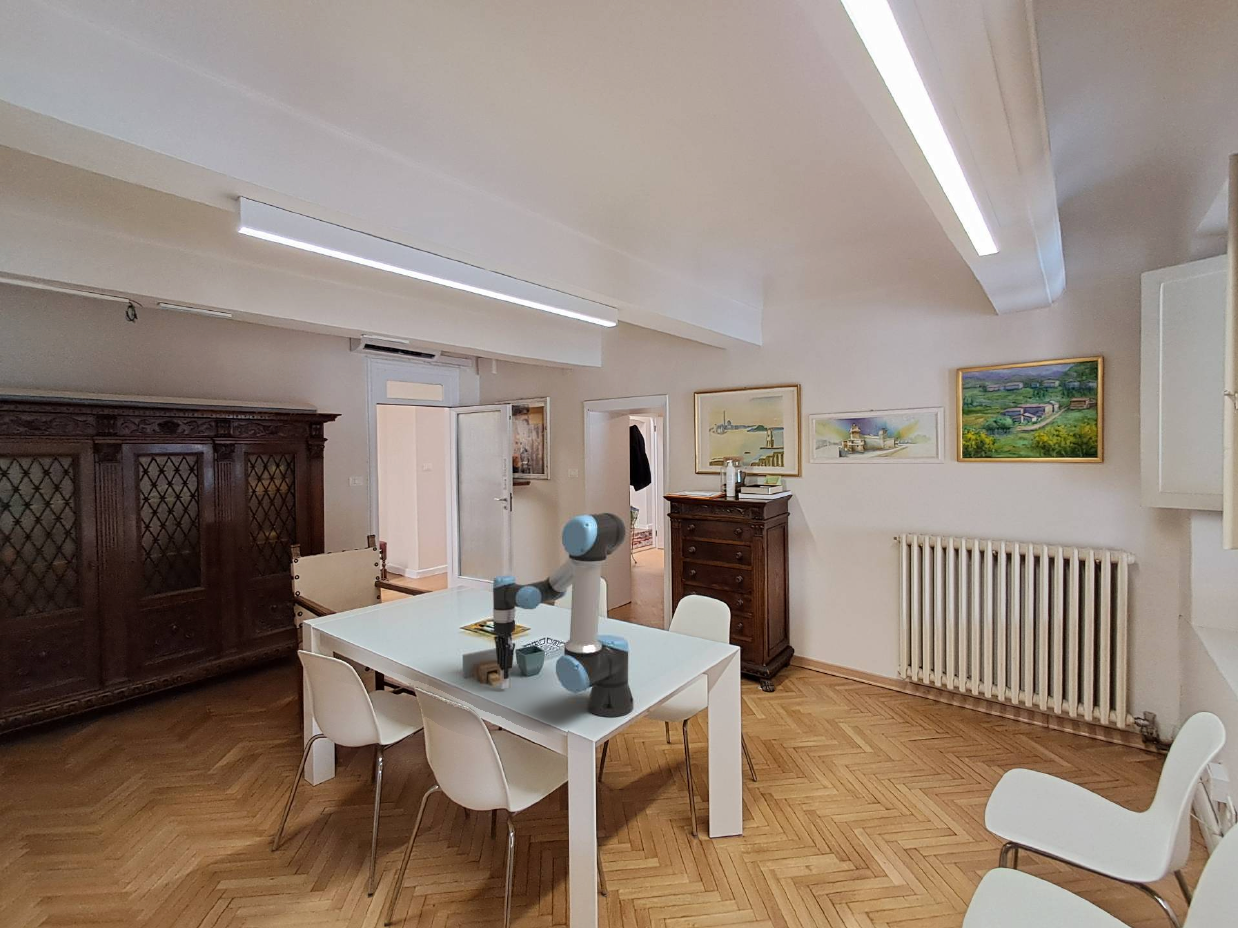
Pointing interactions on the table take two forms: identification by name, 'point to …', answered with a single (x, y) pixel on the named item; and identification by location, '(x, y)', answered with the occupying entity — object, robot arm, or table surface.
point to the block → (485, 669)
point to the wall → (476, 660)
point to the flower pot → (530, 659)
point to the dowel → (493, 678)
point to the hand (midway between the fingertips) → (504, 686)
